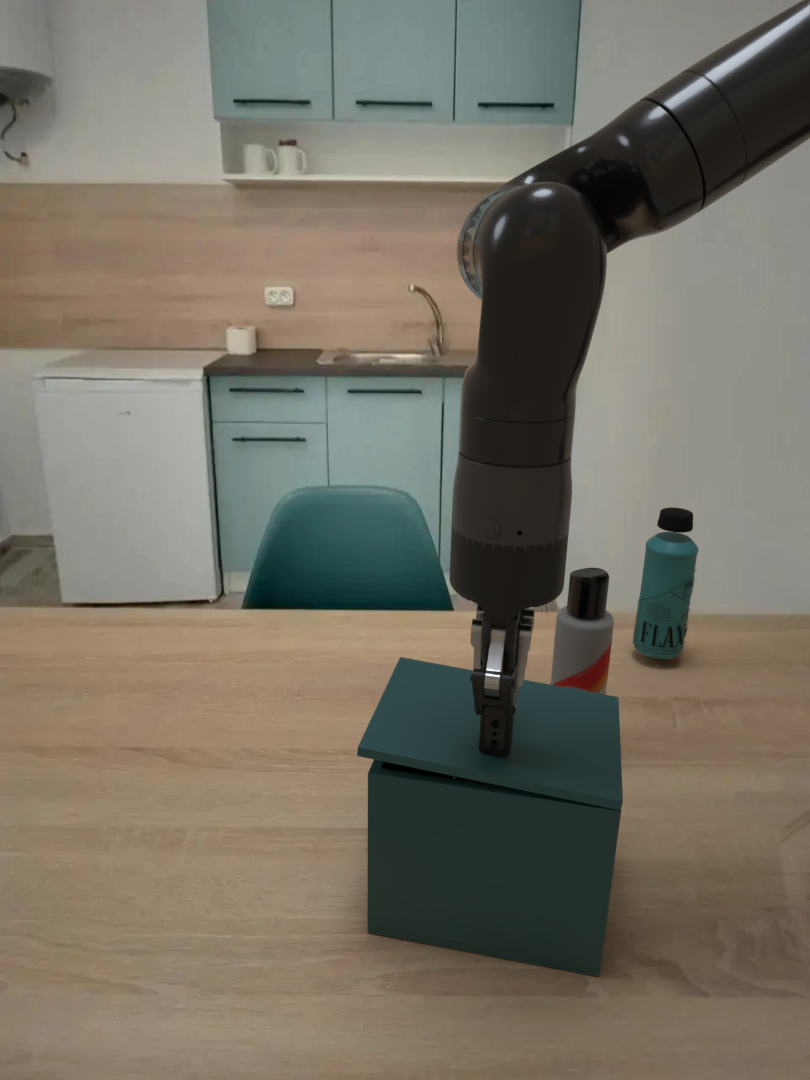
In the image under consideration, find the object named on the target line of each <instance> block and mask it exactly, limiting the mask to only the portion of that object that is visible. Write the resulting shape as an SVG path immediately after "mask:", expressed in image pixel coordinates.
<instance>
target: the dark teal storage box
mask: <svg viewBox="0 0 810 1080" xmlns="http://www.w3.org/2000/svg"><path fill="white" fill-rule="evenodd" d="M372 760H373V761H372V763H371V765H370V767H369V770H368V771H367V907H366V908H367V911H366V912H367V913H366V915H367V916H366V917H367V923H366V924H367V925H366V927H367V934H371V933H373V934H372V935H376V934H377V936H381V935H383V936H382V937H388V938H391V939H397V938H399V939H398V940H402V939H403V940H404V941H408V940H409V942H413V943H418V942H419V943H418V944H425V945H429V946H434V947H439V946H441V947H440V948H444V949H445V948H446V949H451V950H456V951H460V950H461V952H466V953H471V954H477V955H481V956H482V955H483V956H488V957H492V958H496V959H497V958H498V959H502V960H508V961H513V962H518V963H524V964H530V965H535V966H540V967H545V968H551V969H555V970H560V971H566V972H570V973H575V974H576V973H577V974H582V975H588V976H593V977H597V978H599V977H600V976H601V975H600V973H601V966H602V959H603V951H604V950H603V949H604V945H605V937H606V929H607V921H608V914H609V906H610V901H611V900H610V899H611V893H612V892H611V891H612V885H613V884H612V883H613V877H614V876H613V875H614V868H615V861H616V855H617V854H616V853H617V846H618V839H619V831H620V825H621V824H620V823H621V816H622V809H621V810H616V809H611V808H606V807H601V806H596V805H592V804H587V803H582V802H577V801H572V800H567V799H563V798H558V797H553V796H548V795H543V794H538V793H534V792H529V791H524V790H519V789H514V788H507V787H501V786H494V785H487V784H481V783H474V782H467V781H461V780H454V779H453V778H454V776H451V775H446V774H442V773H437V772H432V771H427V770H422V769H417V768H413V767H408V766H403V765H398V764H393V763H388V762H384V761H379V760H374V759H372ZM378 934H380V935H378ZM403 940H402V941H403Z"/></svg>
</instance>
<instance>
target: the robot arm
mask: <svg viewBox="0 0 810 1080" xmlns="http://www.w3.org/2000/svg"><path fill="white" fill-rule="evenodd" d="M808 140H810V0H801V1H799V2H797V3H796V4H794V5H792V6H790V7H788V8H786V9H784V10H783V11H781V12H779V13H778V14H776V15H774V16H772V17H771V18H769V19H768V20H766V21H764V22H762V23H760V24H758V25H757V26H755V27H753V28H752V29H750V30H749V31H746V32H745V33H743V34H740V36H737V37H736V38H734V39H733V40H731V41H729V42H727V43H726V44H724V45H723V46H720V47H719V48H718V49H716V50H714V51H713V52H711V53H709V54H708V55H706V56H704V57H703V58H701V59H699V60H698V61H697V62H694V63H693V64H691V65H690V66H689V67H687V68H686V69H684V70H683V71H681V72H680V73H678V74H677V75H675V76H673V77H672V78H670V79H669V80H668V81H666V82H665V83H663V84H662V85H660V86H659V87H657V88H656V89H654V90H653V91H651V92H650V93H647V95H645V96H644V97H642V98H641V99H639V100H637V101H636V102H635V103H633V104H632V105H630V106H629V107H627V108H626V109H625V110H623V112H621V113H620V114H619V115H617V116H616V117H615V118H614V119H612V120H611V121H610V122H608V123H607V124H606V125H604V126H603V127H601V128H600V129H598V130H597V131H595V132H594V133H592V134H591V135H590V136H587V137H586V138H584V139H582V140H580V141H579V142H577V143H575V144H573V145H571V146H568V147H567V148H565V149H563V150H561V151H559V152H558V153H556V154H554V155H552V156H551V157H549V158H547V159H545V160H543V161H541V162H539V163H538V164H536V165H534V166H532V167H530V168H528V169H527V170H525V171H523V172H522V173H520V174H518V175H516V176H514V177H513V178H511V179H510V180H508V181H507V182H505V183H503V184H501V185H500V186H498V187H497V188H495V189H493V190H492V191H491V192H490V193H488V194H486V196H484V197H483V198H482V199H480V201H478V202H477V203H476V205H474V207H473V208H471V210H470V212H468V214H467V216H466V218H465V219H464V221H463V223H462V226H461V227H460V230H459V234H458V237H457V243H456V264H457V267H458V270H459V273H460V274H459V275H460V277H461V278H462V280H463V282H464V284H465V285H466V287H467V288H468V290H470V292H471V293H472V294H473V295H474V296H476V297H477V298H478V299H479V300H481V305H480V317H479V329H478V338H477V350H476V357H475V359H474V360H473V361H472V362H471V363H470V364H469V365H468V366H467V368H466V370H465V372H464V374H463V375H464V376H463V379H462V383H461V384H462V385H461V393H460V406H459V424H458V425H459V428H458V451H457V453H458V454H457V462H456V467H455V472H454V478H453V486H452V501H451V502H452V504H451V506H452V507H451V526H450V528H451V530H450V553H449V554H450V555H449V556H450V557H449V583H450V586H451V588H452V589H453V591H454V592H455V593H456V594H457V595H459V596H460V597H461V598H462V599H464V600H466V601H469V602H470V601H471V602H472V603H474V604H476V606H477V607H476V612H475V618H472V621H471V626H470V641H469V642H470V645H471V647H472V648H473V662H472V663H473V664H472V670H473V674H471V682H472V689H473V697H474V704H475V705H474V709H475V712H476V715H481V721H480V738H479V750H480V752H481V753H483V754H487V755H494V756H501V757H506V756H508V755H509V754H510V749H511V743H512V733H513V720H514V714H515V710H516V709H517V701H516V700H517V696H519V691H520V689H518V688H521V687H522V686H523V682H524V680H525V675H526V669H527V665H528V657H529V656H528V655H529V651H530V649H531V643H532V634H533V631H534V626H535V617H536V616H535V615H536V609H535V608H539V607H543V606H545V605H548V604H550V603H552V602H554V601H555V600H556V599H557V598H559V597H560V596H561V594H562V593H563V591H564V587H565V577H566V567H567V556H568V544H569V532H570V523H571V514H572V513H571V512H572V501H573V478H572V477H573V475H572V454H573V443H574V431H575V419H576V410H577V409H576V407H577V406H576V405H577V389H578V383H579V380H580V377H581V373H582V372H583V369H584V366H585V362H586V360H587V356H588V354H589V350H590V346H591V343H592V339H593V335H594V331H595V328H596V325H597V321H598V317H599V314H600V311H601V305H602V302H603V296H604V292H605V287H606V280H607V279H606V278H607V268H608V267H607V266H608V254H609V253H611V252H613V251H615V250H616V249H618V248H620V247H622V246H623V245H624V244H627V243H629V242H631V241H633V240H637V239H641V238H646V237H649V236H655V235H657V234H662V233H664V232H667V231H668V230H671V229H673V228H675V227H677V226H679V225H680V224H682V223H684V222H686V221H688V220H689V219H691V218H692V217H694V216H695V215H697V214H698V213H700V212H702V211H703V210H705V209H706V208H708V207H709V206H711V205H712V204H714V203H716V202H717V201H719V200H720V199H722V198H724V197H725V196H727V195H728V194H729V193H731V192H732V191H734V190H735V189H737V188H738V187H740V186H742V185H743V184H744V183H746V182H748V181H749V180H751V179H752V178H754V177H755V176H757V175H758V174H759V173H761V172H763V171H764V170H765V169H767V168H769V167H770V166H772V165H773V164H774V163H776V162H777V161H778V160H780V159H782V158H783V157H785V156H787V155H788V154H789V153H790V152H792V151H793V150H796V149H797V148H798V147H799V146H801V145H803V144H804V143H805V142H807V141H808Z"/></svg>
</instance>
